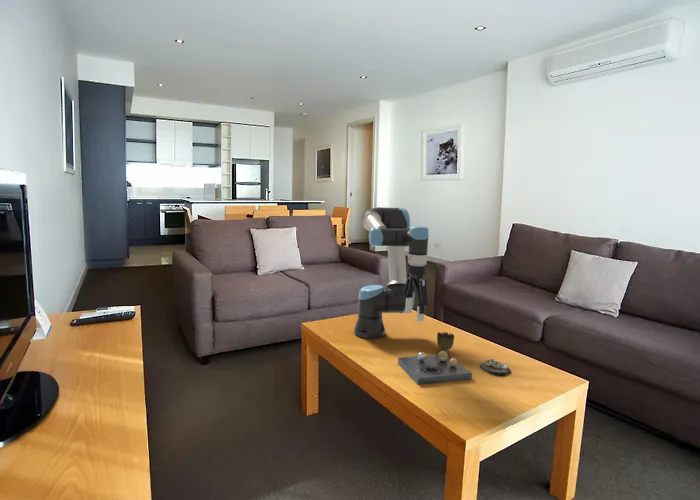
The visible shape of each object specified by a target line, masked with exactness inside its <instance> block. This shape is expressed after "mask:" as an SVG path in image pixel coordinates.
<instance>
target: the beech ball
mask: <svg viewBox="0 0 700 500" xmlns="http://www.w3.org/2000/svg"><path fill="white" fill-rule="evenodd" d="M437 355H438V358H439V360H441V361H446V360H447V359H448V355H449V353H447V352H445V351H440V352H438V354H437Z"/></svg>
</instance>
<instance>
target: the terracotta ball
mask: <svg viewBox="0 0 700 500" xmlns="http://www.w3.org/2000/svg"><path fill="white" fill-rule="evenodd" d="M458 363H459V362H458V359H456V358H455V357H452V358H451V359H450V360H449V364H450V365H451V366H453V367H455V366H456V365H457V364H458Z"/></svg>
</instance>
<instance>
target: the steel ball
mask: <svg viewBox="0 0 700 500" xmlns="http://www.w3.org/2000/svg"><path fill="white" fill-rule="evenodd" d="M416 356H417V358H418V360H420V361H424V360H425V358H426V354H425V353H424V352H421V351H420V352H418V353H417V355H416Z"/></svg>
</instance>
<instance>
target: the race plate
mask: <svg viewBox="0 0 700 500" xmlns="http://www.w3.org/2000/svg"><path fill="white" fill-rule="evenodd" d="M425 355H426V354H425ZM451 358H453V356H451V355H449V354H448V359H447V360H446V361H441V360H439V358H438V354H429V355H428V354H427V355H426V358H425V360H424V361H420V360H418V358H417V355H416V356H403V357H398V358H397V365H399V367H401V369H402V370H403V371H404V372H405V373H406V374H407V375H408V376H409V377H410V378H411V379H412V380H413V382H414V383H416V384H417V386H419V385H429V384H439V383H449V382H459V381H469V380H472V379H473V377H472V376H473V373H472V372H471V371H470V370H469V369H468V368H466V367H465V366H464V365H462V364H461V363H460V362H458V364H457V365H456V366H455V367H453V366H451V365H450V364H449V360H450V359H451Z"/></svg>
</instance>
